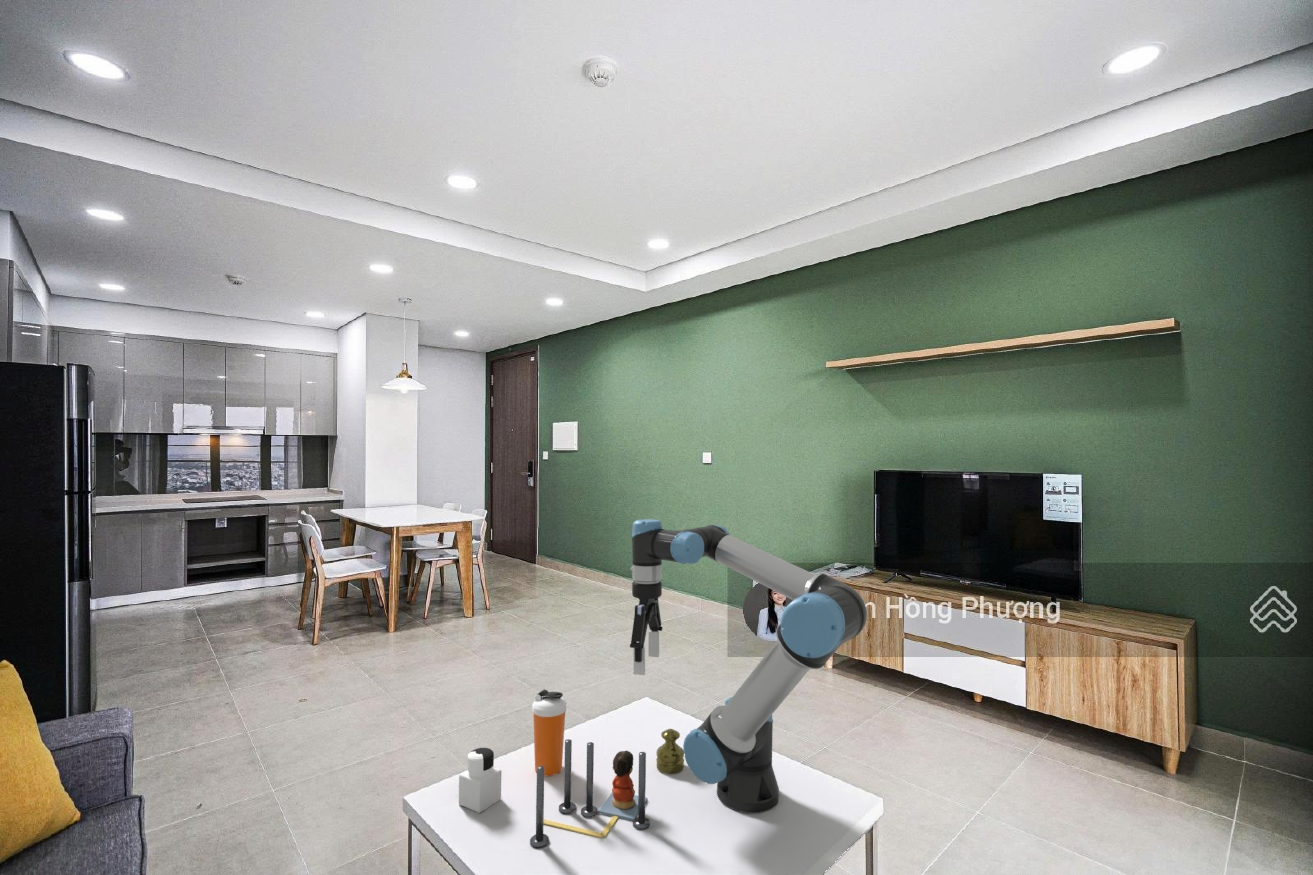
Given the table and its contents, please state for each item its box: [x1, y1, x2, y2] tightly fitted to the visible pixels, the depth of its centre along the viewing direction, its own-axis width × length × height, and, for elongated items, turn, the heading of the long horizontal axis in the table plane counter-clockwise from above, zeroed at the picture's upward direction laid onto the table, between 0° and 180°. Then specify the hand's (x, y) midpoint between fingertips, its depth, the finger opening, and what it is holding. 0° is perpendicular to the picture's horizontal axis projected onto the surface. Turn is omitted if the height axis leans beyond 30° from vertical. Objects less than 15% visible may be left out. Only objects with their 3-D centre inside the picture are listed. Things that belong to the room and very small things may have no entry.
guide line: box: [543, 816, 619, 839], centre depth 142 cm, size 16×8×1 cm, turn 71°
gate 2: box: [580, 741, 651, 831], centre depth 143 cm, size 17×4×16 cm, turn 71°
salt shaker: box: [655, 728, 685, 775], centre depth 166 cm, size 7×7×10 cm
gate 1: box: [529, 738, 577, 849], centre depth 140 cm, size 4×17×16 cm, turn 161°
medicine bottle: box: [458, 747, 502, 814], centre depth 149 cm, size 7×7×12 cm
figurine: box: [611, 750, 636, 809], centre depth 148 cm, size 6×6×12 cm
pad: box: [598, 791, 648, 822], centre depth 147 cm, size 9×9×1 cm
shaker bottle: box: [531, 689, 567, 777], centre depth 164 cm, size 9×9×20 cm
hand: (646, 665), depth 157 cm, fingers open, 13 cm apart
